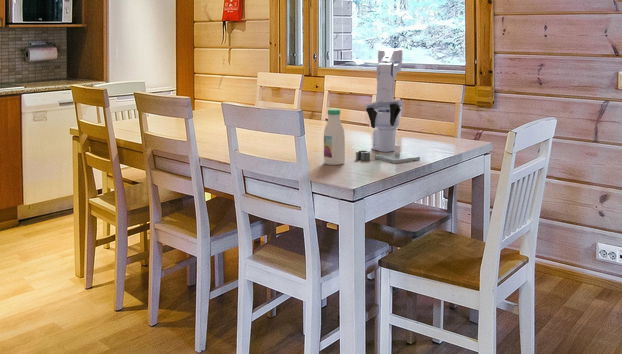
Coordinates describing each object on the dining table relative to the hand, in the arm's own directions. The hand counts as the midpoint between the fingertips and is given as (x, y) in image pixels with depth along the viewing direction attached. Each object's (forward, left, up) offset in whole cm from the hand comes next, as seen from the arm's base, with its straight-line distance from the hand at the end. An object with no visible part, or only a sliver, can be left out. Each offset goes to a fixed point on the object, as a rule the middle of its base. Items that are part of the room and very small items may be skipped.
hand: (382, 126), depth 239 cm
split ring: (-6, -4, -13) cm, 15 cm away
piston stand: (+1, +7, -13) cm, 15 cm away
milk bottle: (-6, -17, -13) cm, 23 cm away
